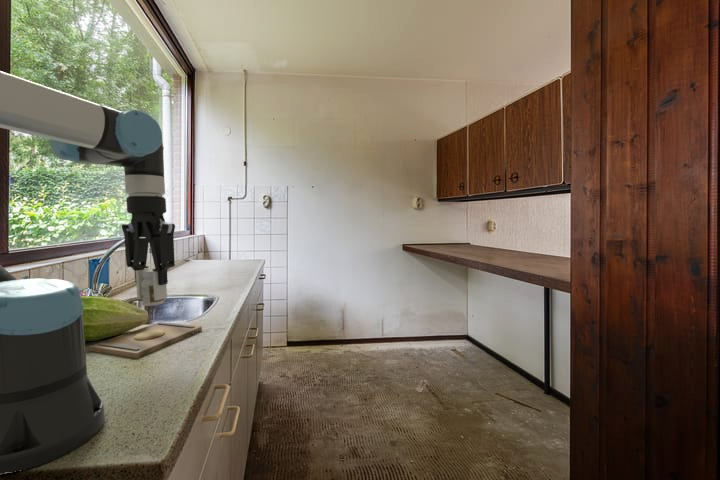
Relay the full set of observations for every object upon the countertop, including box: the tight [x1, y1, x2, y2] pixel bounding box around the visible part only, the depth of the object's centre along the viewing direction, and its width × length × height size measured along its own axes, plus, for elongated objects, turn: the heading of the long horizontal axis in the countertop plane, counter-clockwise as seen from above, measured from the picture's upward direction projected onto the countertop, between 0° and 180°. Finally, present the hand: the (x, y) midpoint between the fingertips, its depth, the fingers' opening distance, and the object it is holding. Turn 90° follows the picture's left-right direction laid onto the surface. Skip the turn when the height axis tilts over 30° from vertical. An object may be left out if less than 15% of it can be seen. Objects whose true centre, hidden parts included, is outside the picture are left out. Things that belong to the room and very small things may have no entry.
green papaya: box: [80, 295, 150, 342], centre depth 94 cm, size 13×22×14 cm
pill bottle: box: [141, 269, 166, 307], centre depth 78 cm, size 4×4×8 cm
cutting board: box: [89, 321, 203, 359], centre depth 92 cm, size 20×16×2 cm
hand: (152, 298), depth 78 cm, fingers closed on pill bottle, 4 cm apart
